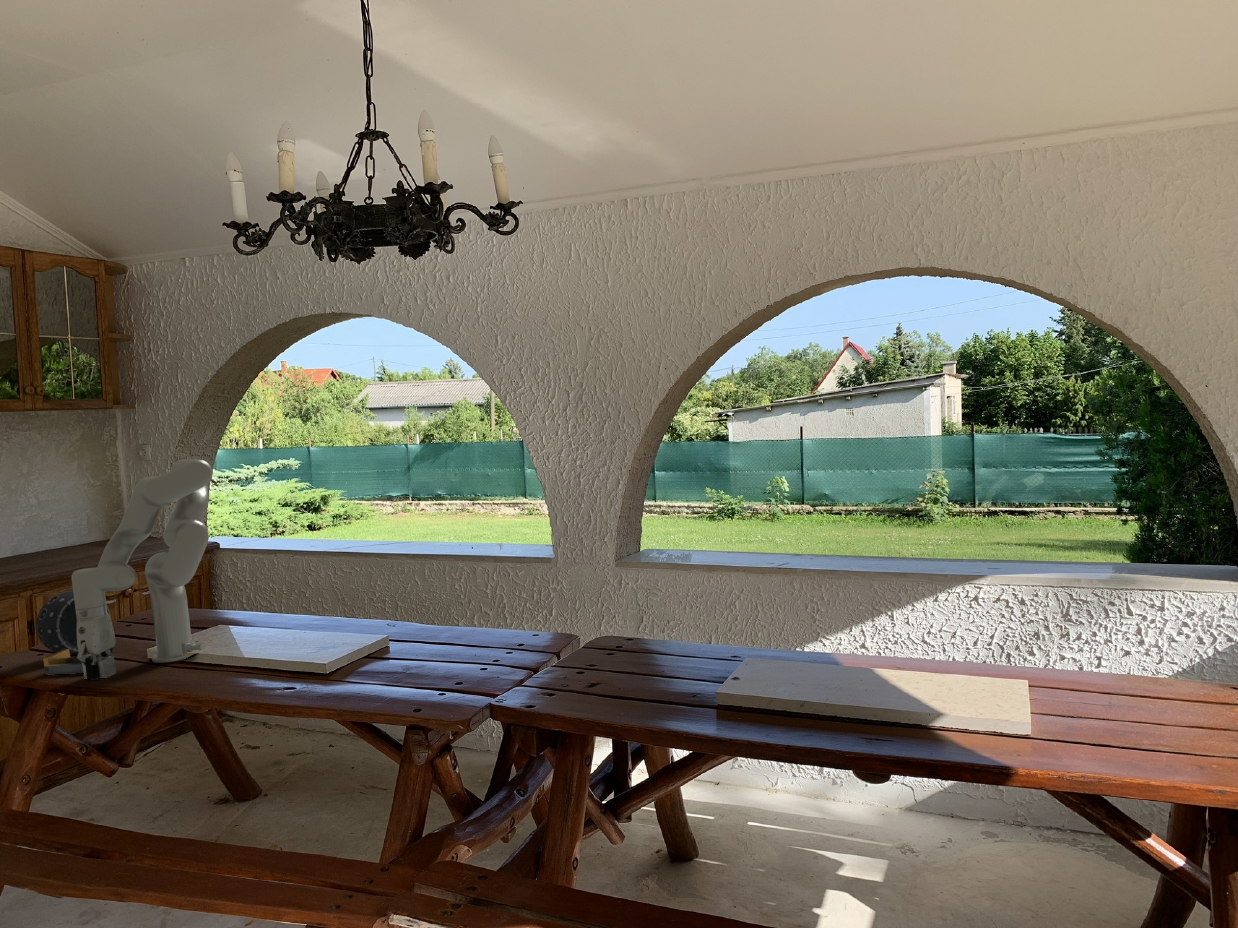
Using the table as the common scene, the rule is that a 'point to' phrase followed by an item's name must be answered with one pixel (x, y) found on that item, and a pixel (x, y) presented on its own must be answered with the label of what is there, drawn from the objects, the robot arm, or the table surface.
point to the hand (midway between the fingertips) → (99, 674)
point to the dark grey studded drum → (59, 623)
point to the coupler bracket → (63, 663)
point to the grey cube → (103, 666)
